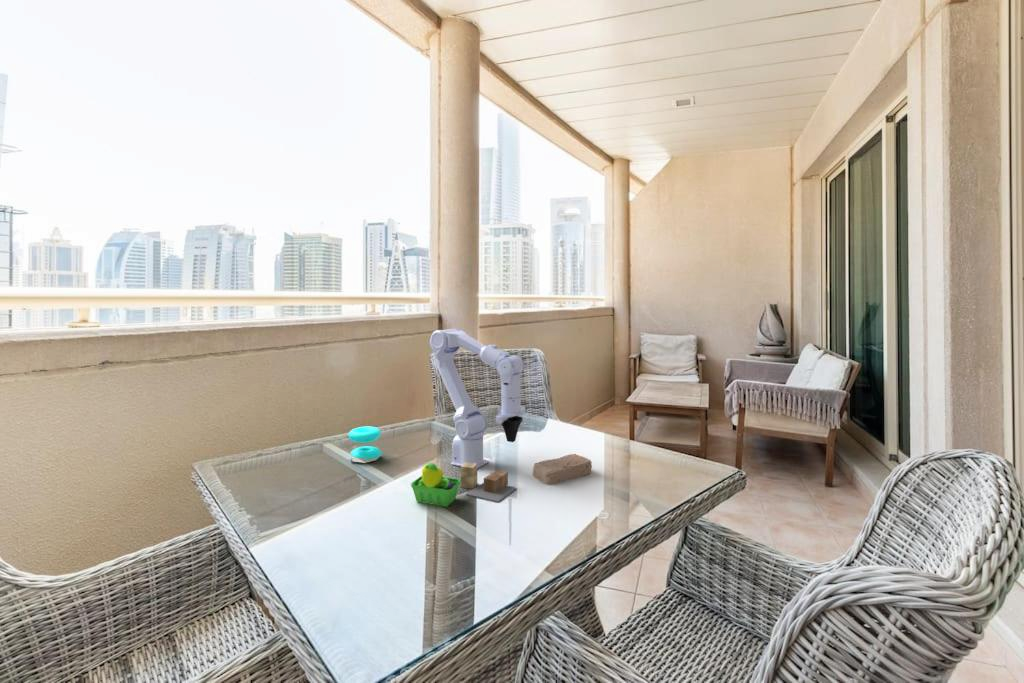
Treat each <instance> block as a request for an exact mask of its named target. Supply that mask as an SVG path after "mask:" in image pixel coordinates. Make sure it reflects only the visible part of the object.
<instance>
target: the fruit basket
mask: <svg viewBox="0 0 1024 683" xmlns="http://www.w3.org/2000/svg"><path fill="white" fill-rule="evenodd" d="M421 472H422V474H421V476H419V477H417V479H415V480H414V481H412V482H411V483H410V486H411V488H412V490H413V494H414V497H415V501H416V502H417V501H418V502H417V503H424V504H428V503H432V505H434V504H435V506H442V507H448V506H449V505H450V504H451V503H453V501H454V500H456V497H457V493H458V490H459V485H461V479H460V478H459V479H458V478H453V477H445V476H444V472H443V470H442V469H441V468H440V467H438V466H436V464H435V463H434V462H428V463H426V464H424V466H423V468H422V470H421Z"/></svg>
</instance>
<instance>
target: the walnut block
mask: <svg viewBox="0 0 1024 683" xmlns="http://www.w3.org/2000/svg"><path fill="white" fill-rule="evenodd" d="M508 474H509V473H508V471H504V470H498V469H496V470H495V471H493V472H492V473H490V474H488V475H487V476H485V477H484V478H483V483H484V491H486V492H490V493H497V492H498V491H499V490H501V489H502V488H504V487H505V486H509V475H508Z"/></svg>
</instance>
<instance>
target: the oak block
mask: <svg viewBox="0 0 1024 683" xmlns="http://www.w3.org/2000/svg"><path fill="white" fill-rule="evenodd" d="M460 480H461V481H460V488H462V489H471V490H473V489H474V488H476V487H477V485H478V468H477V463H466V462H465V463H464V464H463V465H462V466H460Z"/></svg>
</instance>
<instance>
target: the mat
mask: <svg viewBox="0 0 1024 683" xmlns="http://www.w3.org/2000/svg"><path fill="white" fill-rule="evenodd" d="M516 490H517V487H513V486H509V485H507V486H505V487H504V488H502V489H501V490H499V491H498V492H497V493H490V492H486V491H484V482H482V483H481V484H479V485H478V486H475V487H474V488H473V489H471V490H470V491H468V492H467V493H466V494H465V496H468V497H472V498H476V499H477V498H478V499H481V500H485V501H489V502H494V503H497V504H498V503H500V502H501V501H502V500H504V499H505V498H507V497H508V496H509V495H511V494H512V493H514V492H515V491H516Z"/></svg>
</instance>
